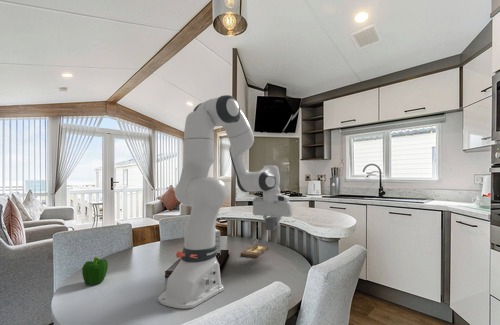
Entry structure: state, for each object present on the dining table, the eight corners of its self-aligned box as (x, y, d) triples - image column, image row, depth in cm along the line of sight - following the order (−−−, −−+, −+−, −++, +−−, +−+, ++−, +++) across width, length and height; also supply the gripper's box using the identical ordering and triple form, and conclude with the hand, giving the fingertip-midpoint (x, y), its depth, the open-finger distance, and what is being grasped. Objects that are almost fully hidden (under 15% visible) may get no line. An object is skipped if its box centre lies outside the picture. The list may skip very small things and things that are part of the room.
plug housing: (273, 230, 115) (273, 218, 116) (265, 229, 117) (265, 218, 117) (279, 226, 123) (278, 216, 124) (271, 226, 125) (271, 215, 125)
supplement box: (202, 254, 124) (202, 229, 125) (216, 252, 127) (216, 228, 128) (206, 258, 117) (206, 232, 118) (220, 256, 120) (220, 230, 121)
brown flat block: (257, 257, 116) (257, 245, 116) (240, 255, 120) (240, 244, 120) (268, 248, 131) (268, 238, 131) (253, 247, 134) (253, 236, 135)
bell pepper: (85, 280, 94) (85, 254, 94) (109, 277, 97) (109, 251, 97) (78, 289, 86) (79, 260, 87) (104, 285, 89) (105, 257, 90)
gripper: (250, 197, 123) (251, 224, 121) (289, 197, 114) (290, 227, 113) (255, 196, 128) (255, 222, 127) (292, 196, 120) (293, 224, 119)
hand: (272, 224), depth 120 cm, fingers closed on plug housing, 4 cm apart
